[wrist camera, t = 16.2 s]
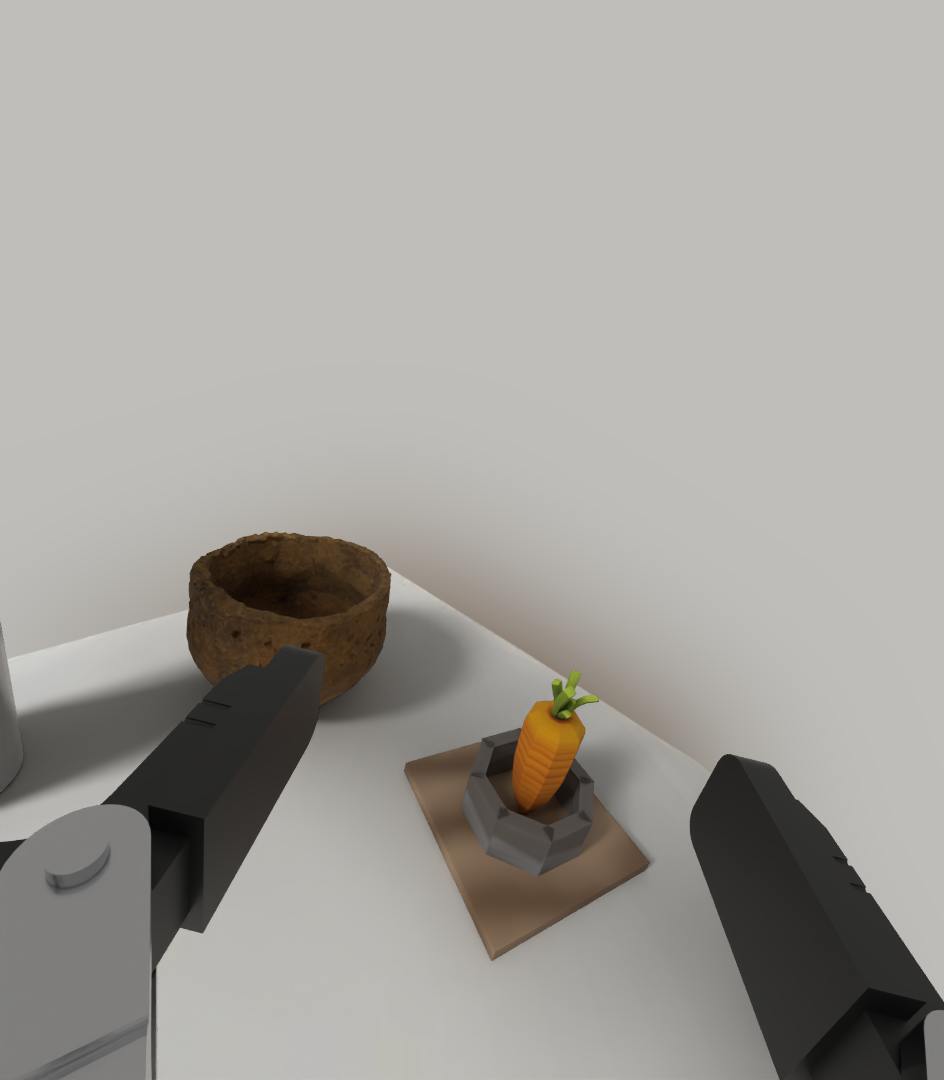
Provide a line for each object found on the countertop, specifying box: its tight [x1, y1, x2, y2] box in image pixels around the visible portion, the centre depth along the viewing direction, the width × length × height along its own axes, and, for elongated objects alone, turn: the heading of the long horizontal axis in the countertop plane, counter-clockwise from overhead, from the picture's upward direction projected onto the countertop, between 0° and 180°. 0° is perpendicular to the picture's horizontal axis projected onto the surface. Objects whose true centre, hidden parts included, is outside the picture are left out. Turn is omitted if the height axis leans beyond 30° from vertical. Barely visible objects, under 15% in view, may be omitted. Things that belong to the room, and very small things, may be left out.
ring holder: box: [404, 728, 649, 961], centre depth 41 cm, size 16×16×5 cm
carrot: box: [512, 671, 599, 814], centre depth 38 cm, size 5×5×15 cm
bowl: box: [186, 532, 391, 705], centre depth 47 cm, size 19×19×15 cm
